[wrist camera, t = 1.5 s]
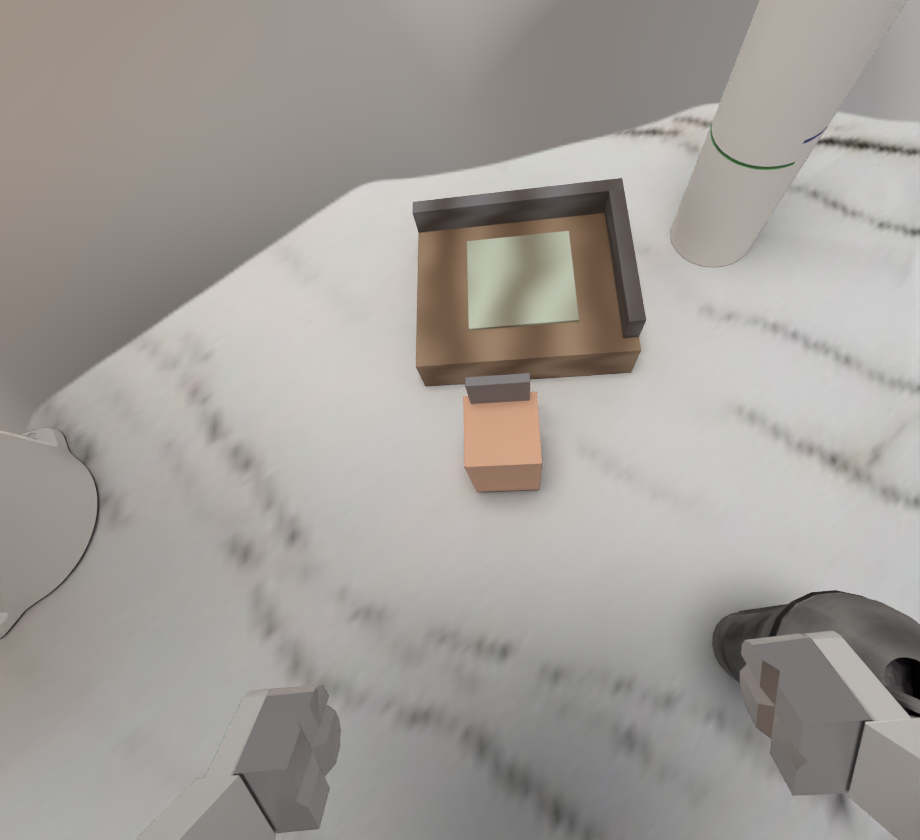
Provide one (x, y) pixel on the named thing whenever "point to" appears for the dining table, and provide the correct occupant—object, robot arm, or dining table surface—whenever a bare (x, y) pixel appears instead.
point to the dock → (527, 284)
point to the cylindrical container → (774, 117)
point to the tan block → (502, 433)
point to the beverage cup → (853, 617)
